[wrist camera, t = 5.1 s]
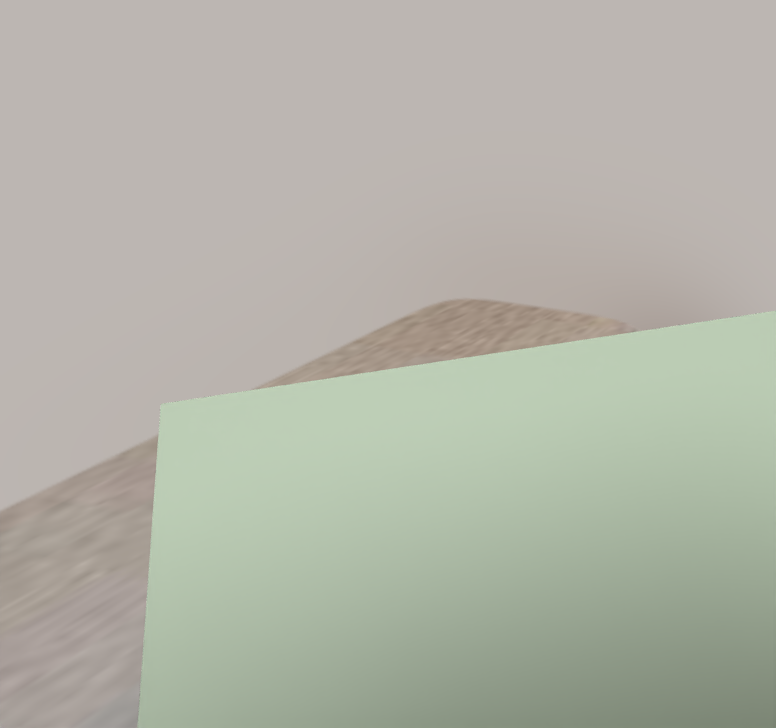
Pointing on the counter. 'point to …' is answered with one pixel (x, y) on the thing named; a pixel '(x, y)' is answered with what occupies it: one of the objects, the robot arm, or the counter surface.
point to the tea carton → (475, 542)
